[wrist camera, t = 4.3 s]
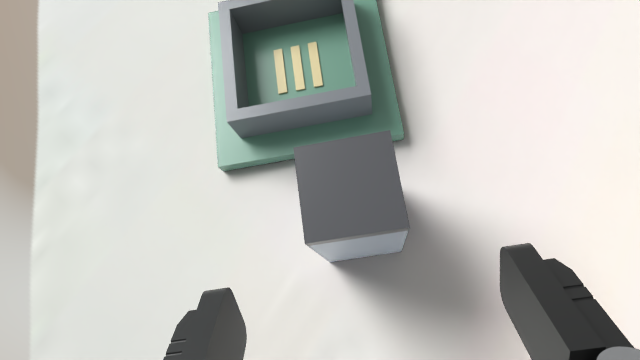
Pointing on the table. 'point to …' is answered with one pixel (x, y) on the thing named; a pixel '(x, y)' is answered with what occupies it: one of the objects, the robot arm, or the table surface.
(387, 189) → the block
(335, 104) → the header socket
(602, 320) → the robot arm
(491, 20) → the table surface
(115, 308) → the table surface
